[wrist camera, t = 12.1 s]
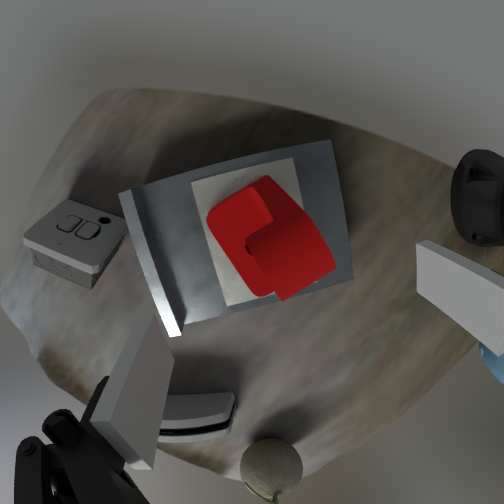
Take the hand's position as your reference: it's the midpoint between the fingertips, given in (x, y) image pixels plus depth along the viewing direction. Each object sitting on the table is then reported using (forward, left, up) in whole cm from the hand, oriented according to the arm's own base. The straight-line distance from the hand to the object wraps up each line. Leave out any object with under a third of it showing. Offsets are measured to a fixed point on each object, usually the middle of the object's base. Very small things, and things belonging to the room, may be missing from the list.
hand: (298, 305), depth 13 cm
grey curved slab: (+17, +23, -20) cm, 35 cm away
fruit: (+7, +39, -20) cm, 44 cm away
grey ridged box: (+1, 0, -20) cm, 20 cm away
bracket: (0, 0, -14) cm, 14 cm away
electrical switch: (+18, -4, -20) cm, 27 cm away
